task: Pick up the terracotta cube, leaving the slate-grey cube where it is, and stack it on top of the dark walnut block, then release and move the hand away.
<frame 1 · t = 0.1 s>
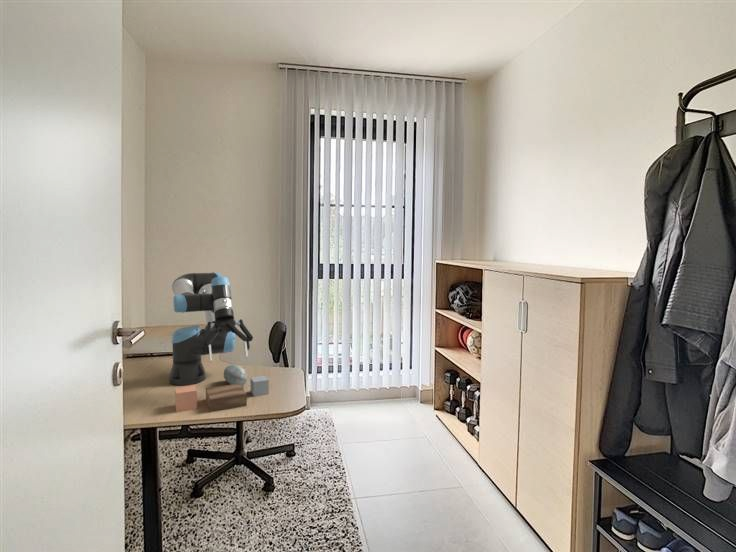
hand: (229, 359, 169), 15 cm above the table, fingers open, 13 cm apart
terracotta cube: (186, 407, 160), on the table
walnut block: (226, 403, 165), on the table
spool: (235, 385, 185), on the table
grey cube: (259, 393, 175), on the table
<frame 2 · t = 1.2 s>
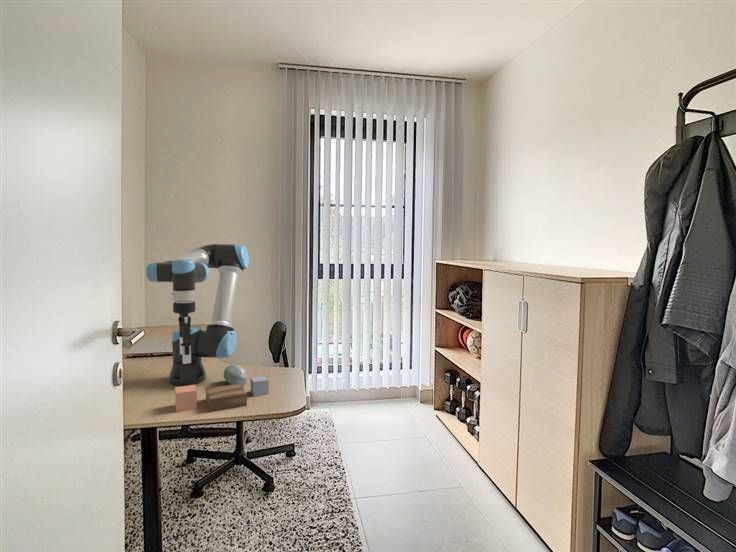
hand: (185, 358, 158), 18 cm above the table, fingers open, 13 cm apart
nothing on the table moved.
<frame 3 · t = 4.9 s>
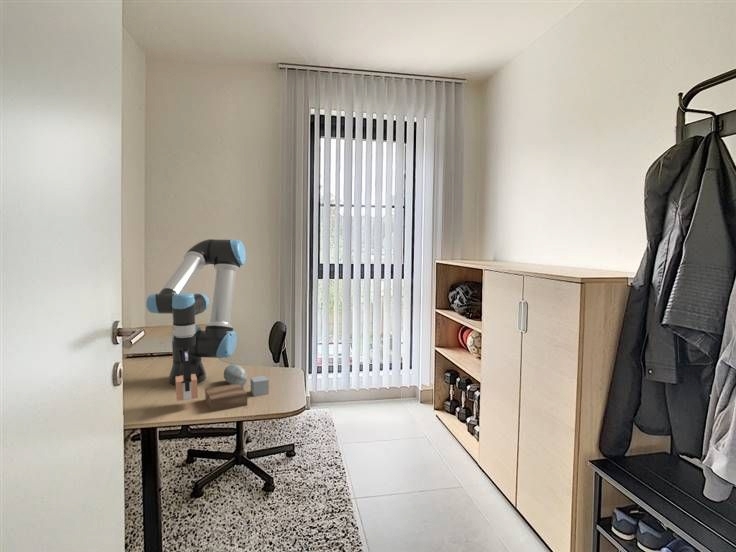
hand: (186, 395, 160), 4 cm above the table, fingers closed on terracotta cube, 7 cm apart
terracotta cube: (186, 396, 160), point 4 cm above the table, touching gripper
everything else where it was.
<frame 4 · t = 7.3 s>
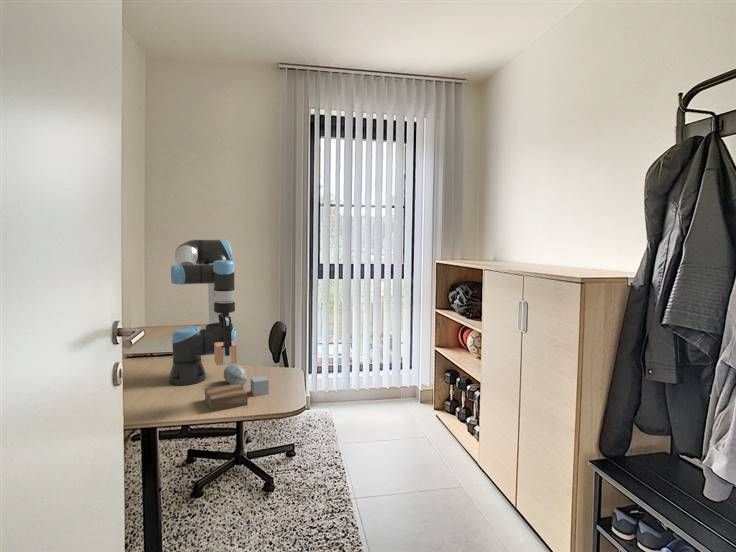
hand: (225, 361, 163), 16 cm above the table, fingers closed on terracotta cube, 7 cm apart
terracotta cube: (225, 361, 163), point 16 cm above the table, touching gripper
everything else where it was.
when the fingers open (6 cm above the table, at t = 9.9 s): terracotta cube stays where it is, resting on walnut block.
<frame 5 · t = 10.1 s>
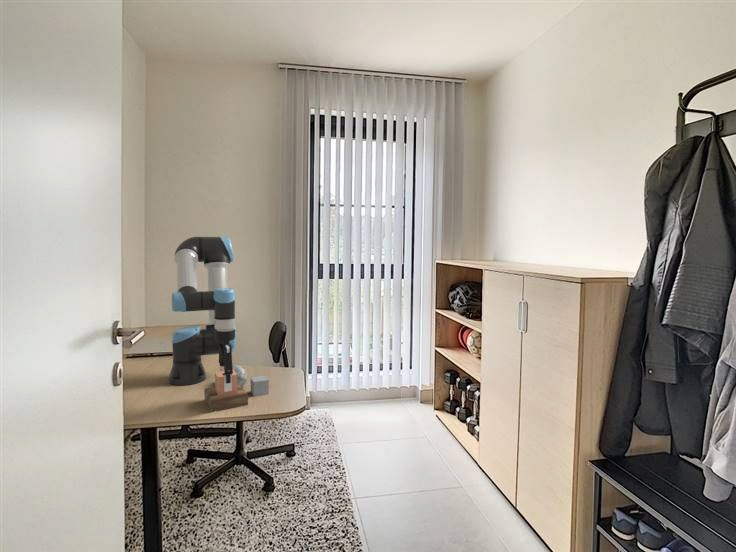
hand: (225, 386, 164), 6 cm above the table, fingers open, 9 cm apart
terracotta cube: (226, 391, 164), point 5 cm above the table, touching walnut block
walnut block: (226, 403, 165), on the table, touching terracotta cube
everything else where it was.
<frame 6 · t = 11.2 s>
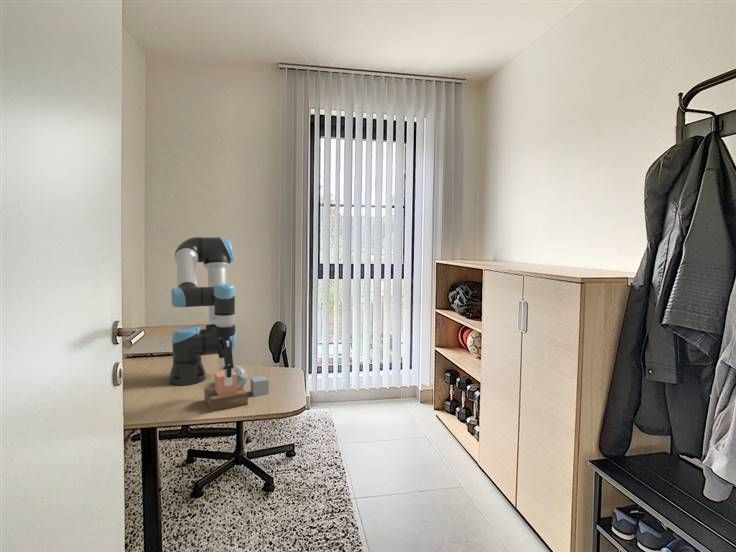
hand: (225, 379, 164), 9 cm above the table, fingers open, 13 cm apart
nothing on the table moved.
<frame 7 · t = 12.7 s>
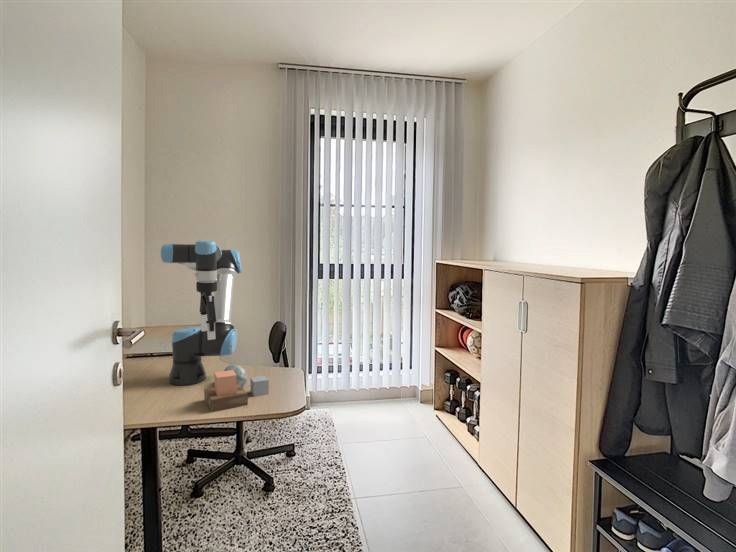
hand: (208, 335, 167), 25 cm above the table, fingers open, 13 cm apart
nothing on the table moved.
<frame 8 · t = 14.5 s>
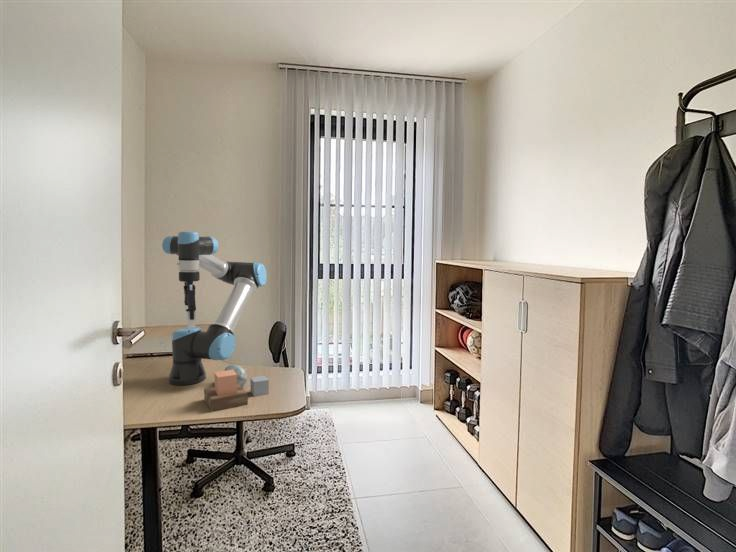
hand: (190, 324, 169), 29 cm above the table, fingers open, 13 cm apart
terracotta cube: (225, 391, 164), point 5 cm above the table
walnut block: (225, 403, 165), on the table
everything else where it was.
at the end: terracotta cube inside the target area on the walnut block (0.4 cm from its centre), point 5.0 cm above the walnut block's base; terracotta cube tilted 0°; the gripper is holding nothing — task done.
